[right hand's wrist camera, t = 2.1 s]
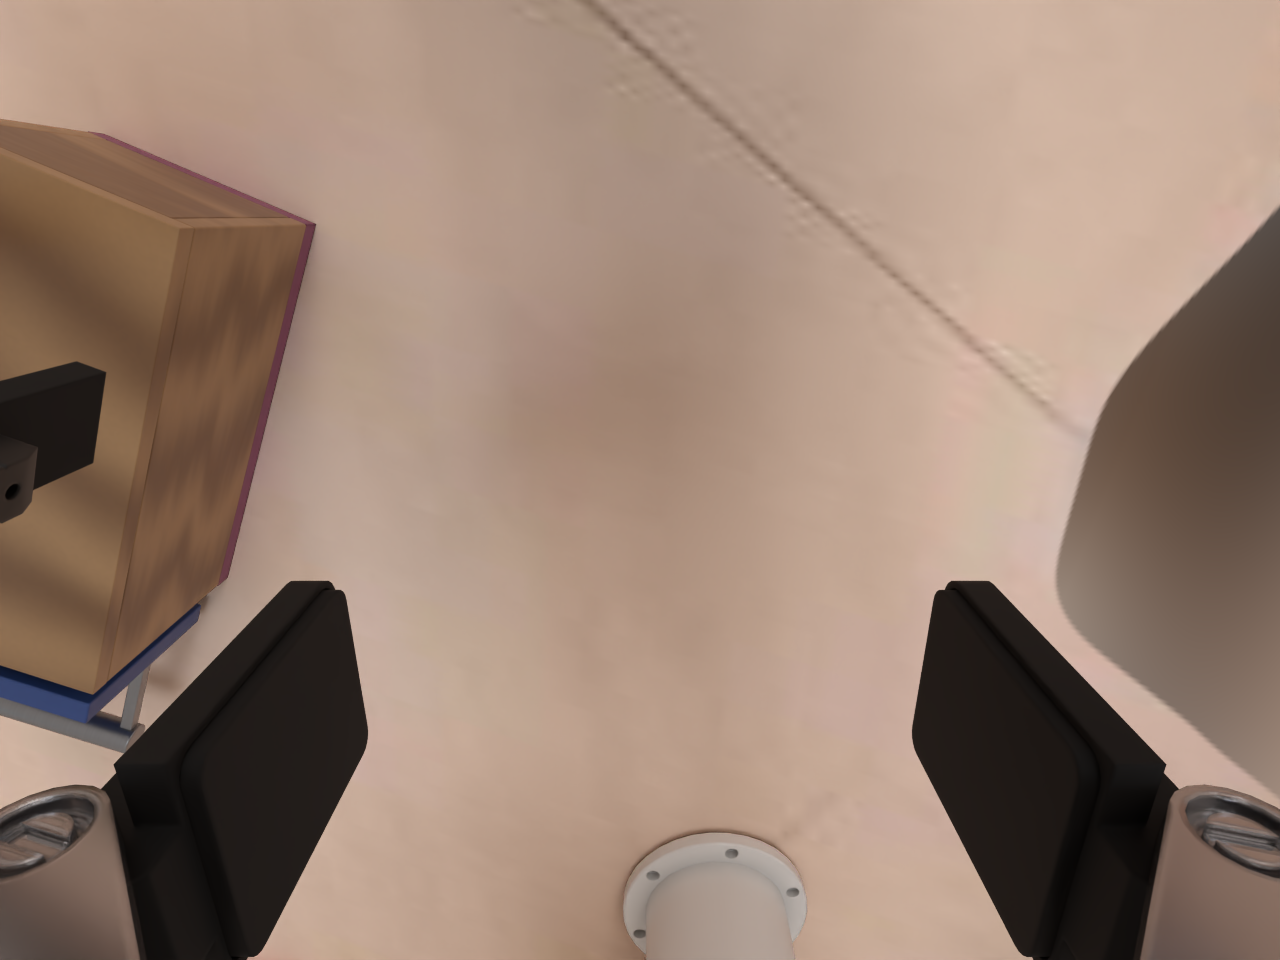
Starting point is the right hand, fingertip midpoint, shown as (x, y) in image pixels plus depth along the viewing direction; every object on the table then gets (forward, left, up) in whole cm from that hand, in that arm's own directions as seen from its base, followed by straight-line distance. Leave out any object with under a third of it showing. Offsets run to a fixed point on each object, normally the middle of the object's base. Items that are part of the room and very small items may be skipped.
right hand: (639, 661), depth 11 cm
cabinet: (-5, +24, -26) cm, 36 cm away
